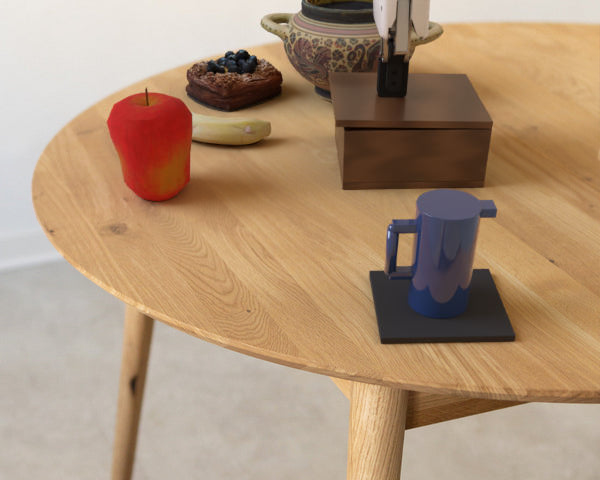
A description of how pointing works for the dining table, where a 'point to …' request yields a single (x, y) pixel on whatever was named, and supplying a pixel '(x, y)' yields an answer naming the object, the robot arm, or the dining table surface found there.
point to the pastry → (233, 82)
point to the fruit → (228, 129)
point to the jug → (439, 251)
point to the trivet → (420, 329)
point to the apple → (152, 143)
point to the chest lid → (408, 102)
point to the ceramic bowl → (334, 39)
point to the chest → (412, 157)
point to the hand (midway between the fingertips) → (391, 94)
